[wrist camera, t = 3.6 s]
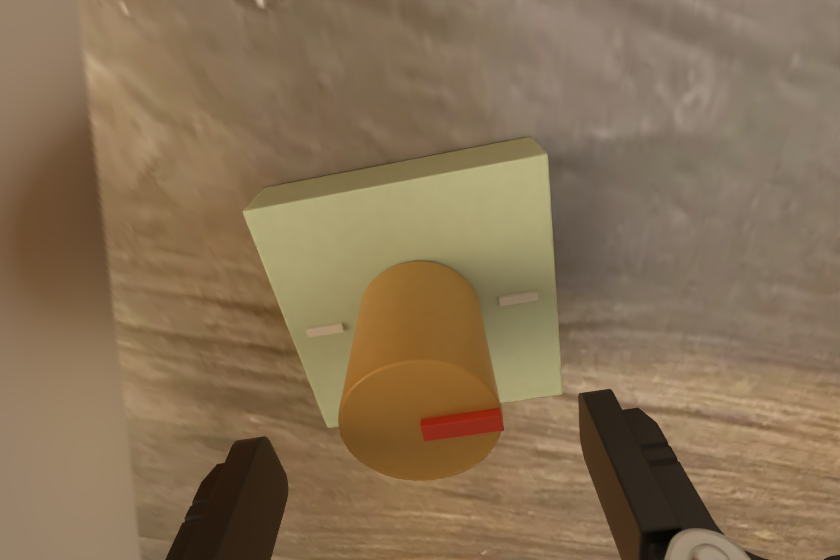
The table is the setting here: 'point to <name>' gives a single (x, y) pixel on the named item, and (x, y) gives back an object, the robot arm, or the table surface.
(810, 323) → the table surface
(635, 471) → the robot arm
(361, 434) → the lock knob
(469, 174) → the plate
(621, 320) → the table surface
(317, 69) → the table surface
